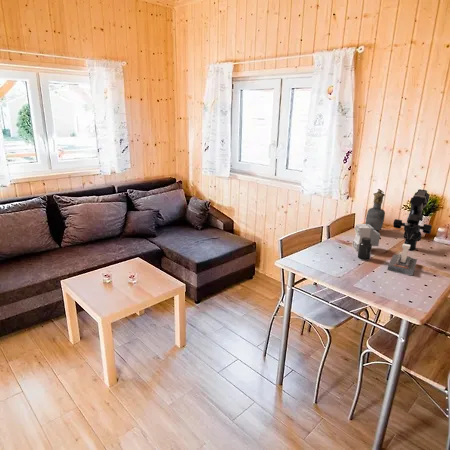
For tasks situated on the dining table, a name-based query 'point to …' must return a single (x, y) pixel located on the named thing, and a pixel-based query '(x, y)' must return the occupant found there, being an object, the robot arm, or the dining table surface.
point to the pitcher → (376, 212)
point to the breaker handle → (404, 252)
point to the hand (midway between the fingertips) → (408, 239)
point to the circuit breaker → (365, 235)
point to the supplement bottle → (365, 249)
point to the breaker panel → (402, 265)
